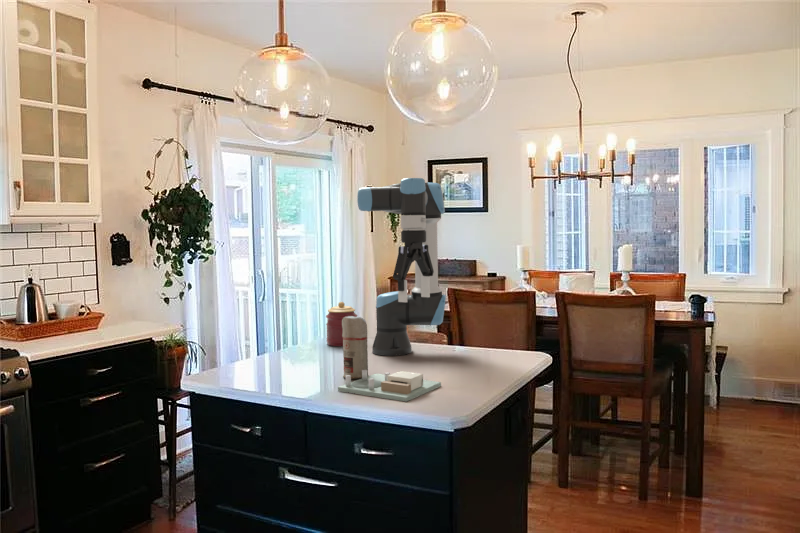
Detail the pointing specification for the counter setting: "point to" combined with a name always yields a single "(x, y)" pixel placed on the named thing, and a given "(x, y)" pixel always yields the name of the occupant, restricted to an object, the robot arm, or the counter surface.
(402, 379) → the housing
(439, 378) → the counter surface
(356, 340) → the spray can
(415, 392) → the board
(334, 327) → the canister
